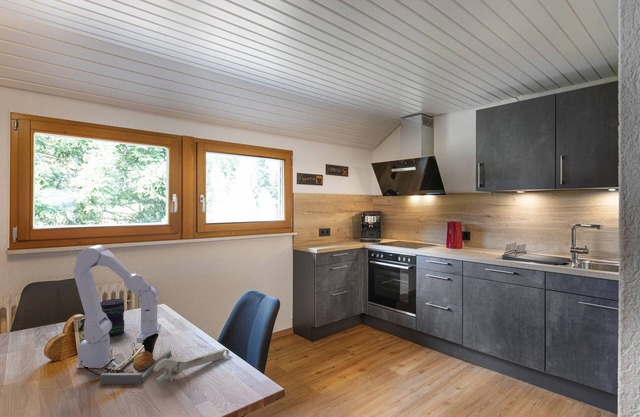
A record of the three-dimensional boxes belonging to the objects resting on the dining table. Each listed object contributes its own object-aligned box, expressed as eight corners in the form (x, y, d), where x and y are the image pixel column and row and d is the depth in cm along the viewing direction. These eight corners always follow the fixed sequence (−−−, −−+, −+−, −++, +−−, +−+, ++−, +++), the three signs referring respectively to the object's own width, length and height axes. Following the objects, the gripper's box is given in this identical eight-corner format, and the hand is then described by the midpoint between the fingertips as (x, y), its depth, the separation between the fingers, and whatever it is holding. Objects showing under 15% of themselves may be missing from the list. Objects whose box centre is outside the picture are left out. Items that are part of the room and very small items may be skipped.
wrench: (228, 363, 132) (154, 388, 107) (225, 362, 133) (151, 386, 108) (230, 342, 132) (156, 362, 108) (227, 341, 133) (153, 361, 109)
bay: (100, 383, 111) (100, 374, 111) (137, 353, 133) (137, 346, 133) (140, 384, 111) (140, 375, 111) (170, 353, 133) (170, 346, 133)
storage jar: (94, 336, 152) (94, 303, 152) (114, 328, 161) (114, 297, 161) (109, 339, 148) (109, 305, 148) (129, 331, 157) (129, 300, 157)
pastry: (154, 368, 122) (154, 358, 121) (133, 373, 118) (133, 362, 118) (152, 358, 130) (152, 348, 130) (132, 362, 126) (132, 352, 126)
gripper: (150, 325, 122) (150, 362, 122) (168, 313, 137) (168, 346, 137) (130, 325, 122) (130, 362, 122) (150, 313, 137) (150, 346, 137)
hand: (149, 354), depth 130 cm, fingers closed
